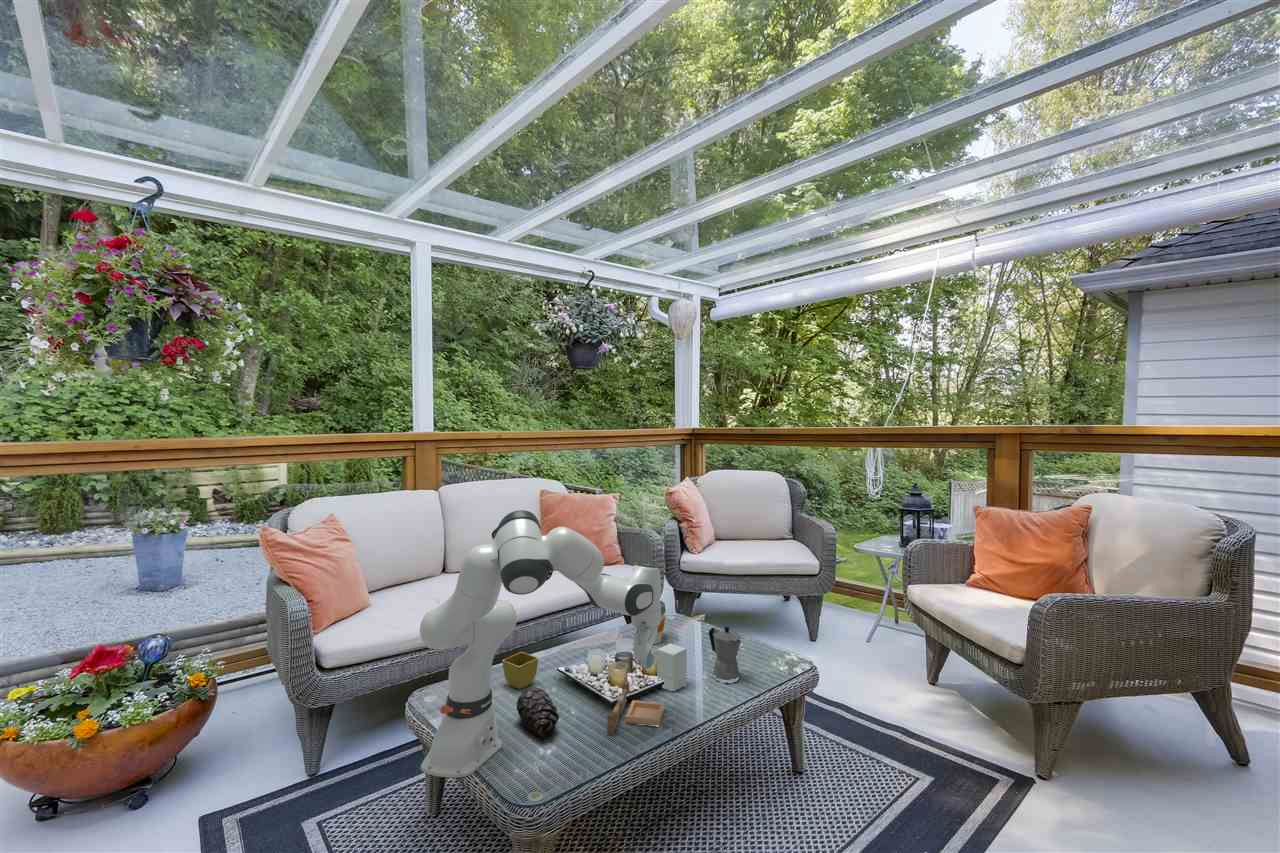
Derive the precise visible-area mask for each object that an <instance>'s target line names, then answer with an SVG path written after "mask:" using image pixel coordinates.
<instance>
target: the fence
mask: <svg viewBox="0 0 1280 853" xmlns="http://www.w3.org/2000/svg"><path fill="white" fill-rule="evenodd" d="M628 692H629V693H630V681H623V682H622V692H621V693H620V695H619V698H618V699H617V702H616V703H615V706H614V708H613V710H612V712H608V713H607V716H606V723H607V724H606V727H607V728H606V735H607V736H614V734H615V731H616V727H617V726H618V723H619V722H620V719H621V716H622V714H623V712H624V710H625V708H626V705H627V703H628V702H627V699H626V695H627V693H628ZM626 702H627V703H626Z"/></svg>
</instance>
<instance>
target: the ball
mask: <svg viewBox="0 0 1280 853" xmlns="http://www.w3.org/2000/svg"><path fill="white" fill-rule="evenodd" d="M637 663H638V665H639V666H640V660H637ZM654 663H655V656H654V654H653V653H652V651H651V652H649V654H648V656H647V667H646V668H644V669H646V670H647V669H650V668H652V667H653V665H654Z"/></svg>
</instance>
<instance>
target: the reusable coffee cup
mask: <svg viewBox="0 0 1280 853" xmlns="http://www.w3.org/2000/svg"><path fill="white" fill-rule="evenodd" d="M660 605H661V623H660V625H658V632H657V636H656V638H655V640H654V643H653V644H656V643H659V642H660V643H661V642H662V636H663V631H664V629H665V628H664V627H665V622H666V621H665V620H666V617H665V613H666V612H667V609H666V603H665V602H664V601H662V600H660ZM660 643H659V644H660Z"/></svg>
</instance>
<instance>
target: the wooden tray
mask: <svg viewBox="0 0 1280 853" xmlns="http://www.w3.org/2000/svg"><path fill="white" fill-rule="evenodd" d="M663 712H665V703H663V702H652V701H644V700H643V701H642V700H635V699H633V700H632V701H631V702H630V706H629V708H628V710H627V712H626V715H625V724H626V725H632V724H645V725H659V724H660V725H661V723H660V721H662V720H661V718H662V719H663V716H664V713H663ZM662 715H663V716H662Z"/></svg>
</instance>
